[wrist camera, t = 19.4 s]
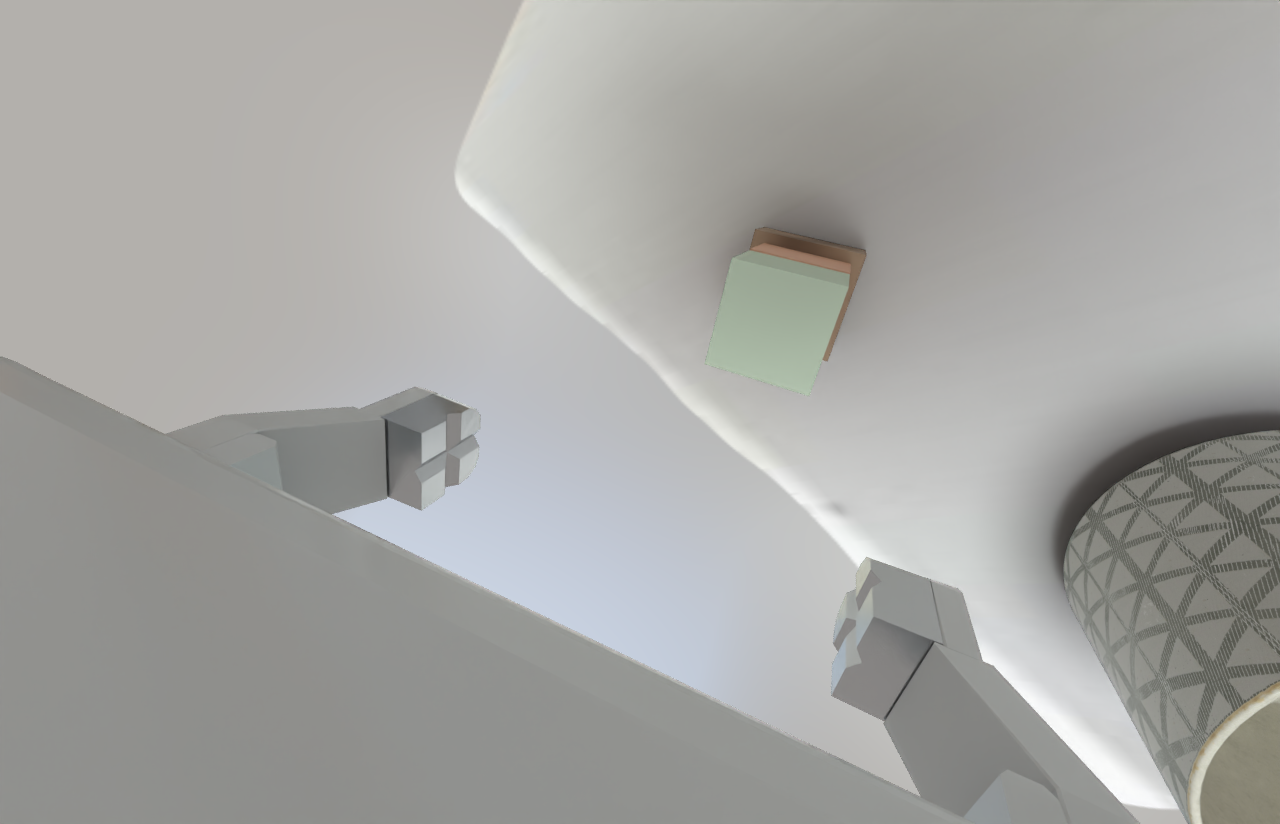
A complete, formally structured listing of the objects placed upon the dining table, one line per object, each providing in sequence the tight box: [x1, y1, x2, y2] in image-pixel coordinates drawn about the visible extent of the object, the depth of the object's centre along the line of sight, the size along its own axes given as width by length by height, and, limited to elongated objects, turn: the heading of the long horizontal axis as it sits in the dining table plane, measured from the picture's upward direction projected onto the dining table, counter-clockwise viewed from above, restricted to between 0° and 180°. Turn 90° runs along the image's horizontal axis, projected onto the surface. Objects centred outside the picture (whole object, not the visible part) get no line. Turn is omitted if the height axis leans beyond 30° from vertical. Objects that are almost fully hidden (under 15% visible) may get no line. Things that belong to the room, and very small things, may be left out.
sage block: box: [705, 250, 850, 396], centre depth 27 cm, size 6×6×5 cm
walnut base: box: [750, 227, 866, 361], centre depth 35 cm, size 7×7×4 cm
